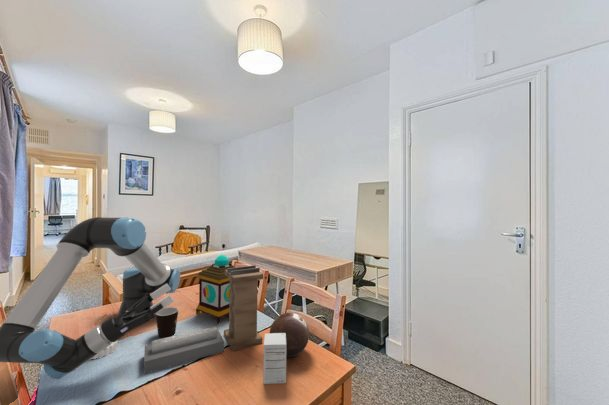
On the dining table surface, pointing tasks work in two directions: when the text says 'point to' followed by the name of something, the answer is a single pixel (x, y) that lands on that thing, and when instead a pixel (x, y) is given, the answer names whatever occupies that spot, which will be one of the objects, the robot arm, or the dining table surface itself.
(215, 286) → the decorative lantern
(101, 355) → the mooncake
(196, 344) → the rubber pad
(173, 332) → the coffee mug
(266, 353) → the supplement box
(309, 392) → the dining table surface
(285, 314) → the wooden sphere
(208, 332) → the bar
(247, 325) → the pedestal
